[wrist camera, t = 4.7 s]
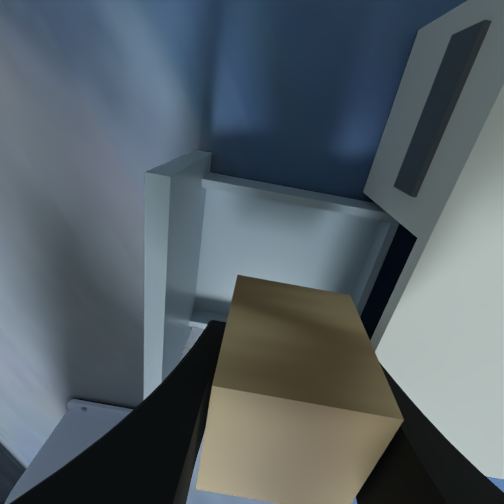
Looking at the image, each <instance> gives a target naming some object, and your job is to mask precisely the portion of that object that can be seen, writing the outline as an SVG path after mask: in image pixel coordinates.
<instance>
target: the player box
mask: <svg viewBox="0 0 504 504" xmlns="http://www.w3.org/2000/svg"><path fill="white" fill-rule="evenodd" d="M363 193H364V194H366V195H367V196H368V197H369V198H370V199H372V200H373V201H374V202H375V203H376V204H378V205H379V206H380V207H381V208H382V209H383V210H385V211H386V212H387V213H388V214H389V215H391V216H392V217H393V218H394V219H395V220H397V221H398V222H399V223H400V224H401V225H403V226H404V227H405V228H406V229H407V230H409V231H410V232H411V233H412V234H413V235H415V236H416V237H417V240H416V242H415V244H414V247H413V249H412V251H411V253H410V255H409V257H408V260H407V262H406V264H405V266H404V268H403V271H402V273H401V275H400V277H399V279H398V281H397V284H396V286H395V288H394V290H393V292H392V294H391V297H390V299H389V301H388V303H387V305H386V308H385V310H384V312H383V314H382V316H381V318H380V321H379V323H378V325H377V327H376V329H375V331H374V334H373V336H372V338H371V340H370V342H371V344H372V347H373V349H374V351H375V354H376V356H377V358H378V361H379V362H380V363H381V365H382V366H383V367H384V368H385V369H386V371H387V372H388V373H389V374H390V375H391V377H392V378H393V379H394V380H395V382H396V383H397V384H398V385H399V386H400V387H401V389H402V390H403V391H404V392H405V393H406V395H407V396H408V397H409V398H410V399H411V400H412V401H413V403H414V404H415V405H416V406H417V407H418V408H419V409H420V411H421V412H422V413H423V414H424V415H425V416H426V417H427V418H428V419H429V420H430V422H431V423H432V424H433V425H434V426H435V427H436V428H437V429H438V430H439V431H440V432H441V433H442V434H443V435H444V436H445V438H446V439H447V440H448V441H449V442H450V443H451V444H452V445H453V446H454V447H455V448H456V449H457V450H458V451H459V452H461V453H462V454H463V455H464V456H465V457H466V458H467V459H468V460H469V461H470V462H471V463H472V464H473V465H474V466H475V467H476V468H477V469H478V470H479V471H480V472H481V473H482V474H483V475H485V476H488V477H493V478H499V479H504V0H467V1H466V2H464V3H462V4H461V5H459V6H457V7H456V8H454V9H452V10H451V11H449V12H447V13H446V14H444V15H442V16H441V17H439V18H437V19H436V20H434V21H432V22H431V23H429V24H427V25H426V26H424V27H422V28H421V29H419V30H418V33H417V36H416V39H415V42H414V44H413V47H412V50H411V53H410V56H409V59H408V62H407V65H406V68H405V71H404V74H403V77H402V79H401V82H400V85H399V88H398V91H397V94H396V97H395V100H394V103H393V106H392V109H391V112H390V115H389V117H388V120H387V123H386V126H385V129H384V132H383V135H382V138H381V141H380V144H379V147H378V150H377V152H376V155H375V158H374V161H373V164H372V167H371V170H370V173H369V176H368V179H367V182H366V185H365V187H364V190H363Z"/></svg>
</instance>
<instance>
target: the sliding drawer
mask: <svg viewBox="0 0 504 504" xmlns="http://www.w3.org/2000/svg"><path fill="white" fill-rule="evenodd" d="M211 159H212V153H211V152H205V151H200V150H195V151H193V152H191V153H188V154H186V155H184V156H181V157H179V158H177V159H174V160H172V161H170V162H167V163H165V164H163V165H160V166H158V167H156V168H153V169H151V170H149V171H146V172H145V241H144V400H145V399H146V398H147V397H148V396H149V395H150V394H151V393H152V392H153V391H154V390H155V389H156V388H157V387H158V386H159V385H160V384H161V383H162V382H163V381H164V379H165V378H166V377H167V376H168V375H169V374H170V373H171V372H172V371H173V369H174V368H175V367H176V366H177V365H178V362H179V360H180V357H181V355H182V352H183V349H184V347H185V344H186V342H187V339H188V336H189V334H190V331H191V329H192V327H197V328H202V329H205V328H206V326H207V324H208V322H209V321H211V320H216V321H222V322H227V318H228V314H229V310H230V305H231V301H232V296H233V292H234V288H235V283H236V279H237V275H243V276H248V277H254V278H259V279H265V280H270V281H276V282H281V283H287V284H292V285H298V286H303V287H309V288H314V289H319V290H325V291H330V292H336V293H341V294H347V295H350V296H351V298H352V300H353V302H354V305H355V307H356V309H357V312H358V314H359V316H361V314H362V312H363V309H364V307H365V305H366V302H367V300H368V297H369V295H370V293H371V290H372V288H373V285H374V283H375V281H376V278H377V276H378V274H379V271H380V269H381V266H382V264H383V262H384V259H385V257H386V255H387V252H388V250H389V247H390V245H391V243H392V240H393V238H394V235H395V233H396V231H397V228H398V226H399V224H400V223H399V222H398V221H397V220H395V219H394V218H393V217H392V216H391V215H389V214H388V213H387V212H386V211H385V210H383V209H382V208H381V207H380V206H379V205H378V204H376V203H372V202H367V201H362V200H356V199H351V198H346V197H340V196H335V195H329V194H324V193H319V192H313V191H308V190H303V189H297V188H292V187H286V186H281V185H276V184H270V183H265V182H260V181H254V180H249V179H243V178H238V177H233V176H227V175H222V174H217V173H211V172H210V169H211Z"/></svg>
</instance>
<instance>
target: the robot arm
mask: <svg viewBox="0 0 504 504" xmlns="http://www.w3.org/2000/svg"><path fill="white" fill-rule="evenodd" d="M226 323H227V322H222V321H216V320H211V321H209V322H208V324H207V326H206V328H205V329H204V331H203V333H202V334H201V336H200V337H199V338H198V340H197V341H196V343H195V344H194V345H193V347H192V348H191V349H190V350H189V352H188V353H187V354H186V355H185V357H184V358H183V359H182V360H181V362H180V363H179V364H178V365H177V366H176V367H175V368H174V369H173V371H172V372H171V373H170V374H169V375H168V376H167V377H166V378H165V379H164V381H163V382H162V383H161V384H160V385H159V386H158V387H157V388H156V389H155V390H154V391H153V392H152V393H151V394H150V395H149V396H148V397H147V398H146V399H145V400H144V401H142V402H141V403H140V404H139V405H138V406H137V407H136V408H135V409H128V408H123V407H117V406H111V405H105V404H100V403H94V402H88V401H83V400H77V399H71V400H70V401H69V402H68V404H67V408H68V411H67V412H66V414H65V415H64V416H63V418H62V419H61V421H60V422H59V424H58V425H57V426H56V428H55V429H54V431H53V432H52V434H51V435H50V436H49V438H48V439H47V441H46V442H45V444H44V445H43V446H42V448H41V449H40V451H39V452H38V454H37V455H36V456H35V458H34V459H33V461H32V462H31V464H30V465H29V466H28V468H27V469H26V471H25V472H24V474H23V475H22V476H21V478H20V479H19V481H18V482H17V484H16V485H15V487H14V488H13V490H12V491H11V493H10V495H9V496H8V498H7V500H6V502H5V503H4V504H186V500H187V496H188V491H189V487H190V482H191V477H192V473H193V469H194V465H195V462H196V458H197V454H198V451H199V448H200V444H201V441H202V438H203V434H204V431H205V428H206V422H207V415H208V409H209V402H210V396H211V390H212V384H213V380H214V375H215V371H216V367H217V362H218V358H219V353H220V349H221V345H222V340H223V336H224V331H225V327H226ZM379 363H380V362H379ZM380 365H381V363H380ZM381 368H382V370H383V372H384V375H385V377H386V379H387V381H388V384H389V386H390V388H391V391H392V393H393V395H394V398H395V400H396V402H397V405H398V407H399V409H400V412H401V414H402V416H403V419H404V421H403V422H402V424H401V426H400V427H399V429H398V430H397V432H396V433H395V435H394V437H393V438H392V440H391V441H390V443H389V445H388V446H387V448H386V449H385V451H384V452H383V454H382V456H381V457H380V459H379V460H378V462H377V464H376V465H375V467H374V468H373V470H372V472H371V473H370V475H369V476H368V478H367V479H366V481H365V483H364V484H363V486H362V487H361V489H360V491H359V492H358V494H357V495H356V499H357V504H504V493H503V492H502V491H501V490H500V489H499V488H498V487H497V486H495V485H494V484H493V483H492V482H491V481H490V480H489V479H488V478H487V477H486V476H485V475H483V474H482V473H481V472H480V471H479V470H478V469H477V468H476V467H475V466H474V465H473V464H472V463H471V462H470V461H469V460H468V459H467V458H466V457H465V456H464V455H463V454H462V453H461V452H459V451H458V450H457V449H456V448H455V447H454V446H453V445H452V444H451V443H450V442H449V441H448V440H447V439H446V438H445V436H444V435H443V434H442V433H441V432H440V431H439V430H438V429H437V428H436V427H435V426H434V425H433V424H432V423H431V422H430V420H429V419H428V418H427V417H426V416H425V415H424V414H423V413H422V412H421V411H420V409H419V408H418V407H417V406H416V405H415V404H414V403H413V401H412V400H411V399H410V398H409V397H408V396H407V395H406V393H405V392H404V391H403V390H402V389H401V387H400V386H399V385H398V384H397V383H396V382H395V380H394V379H393V378H392V377H391V375H390V374H389V373H388V372H387V371H386V369H385V368H384V367H383V366H382V365H381Z"/></svg>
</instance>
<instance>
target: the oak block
mask: <svg viewBox="0 0 504 504" xmlns="http://www.w3.org/2000/svg"><path fill="white" fill-rule="evenodd" d="M403 421H404V419H403V416H402V414H401V412H400V409H399V407H398V405H397V402H396V400H395V398H394V395H393V393H392V391H391V388H390V386H389V384H388V381H387V379H386V377H385V375H384V372H383V370H382V368H381V365H380V363H379V361H378V358H377V356H376V354H375V351H374V349H373V347H372V344H371V342H370V340H369V337H368V335H367V333H366V330H365V328H364V326H363V323H362V321H361V319H360V316H359V314H358V312H357V309H356V307H355V305H354V302H353V300H352V298H351V296H350V295H347V294H341V293H336V292H330V291H325V290H319V289H314V288H309V287H303V286H298V285H292V284H287V283H281V282H276V281H270V280H265V279H259V278H254V277H248V276H243V275H237V279H236V283H235V288H234V292H233V296H232V301H231V305H230V310H229V314H228V318H227V323H226V327H225V331H224V336H223V340H222V345H221V349H220V353H219V358H218V362H217V367H216V371H215V375H214V380H213V384H212V390H211V396H210V402H209V409H208V415H207V422H206V428H205V434H204V441H203V447H202V454H201V460H200V466H199V473H198V479H197V486H196V489H198V490H204V491H209V492H215V493H221V494H227V495H232V496H238V497H244V498H250V499H255V500H261V501H267V502H273V503H279V504H351V503H352V502H353V500H354V499H355V497H356V495H357V494H358V492H359V491H360V489H361V487H362V486H363V484H364V483H365V481H366V479H367V478H368V476H369V475H370V473H371V472H372V470H373V468H374V467H375V465H376V464H377V462H378V460H379V459H380V457H381V456H382V454H383V452H384V451H385V449H386V448H387V446H388V445H389V443H390V441H391V440H392V438H393V437H394V435H395V433H396V432H397V430H398V429H399V427H400V426H401V424H402V422H403Z"/></svg>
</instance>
